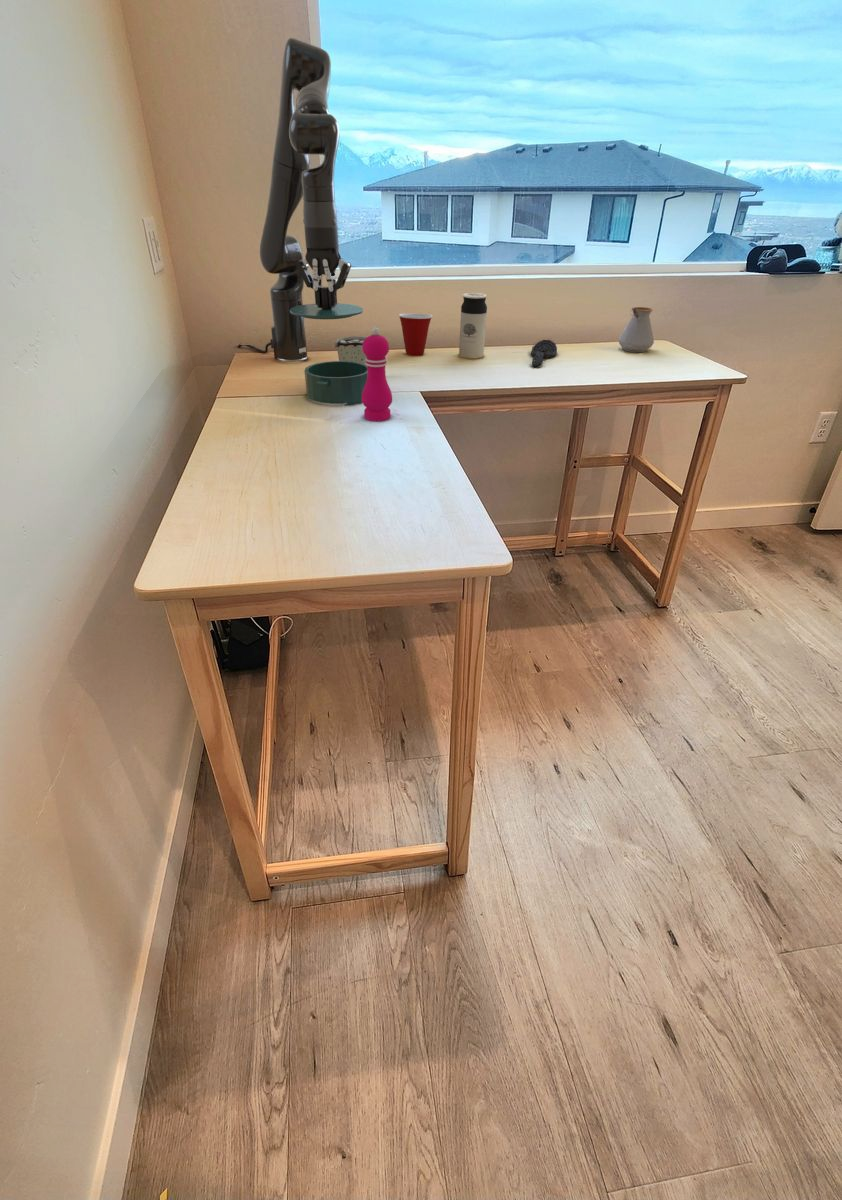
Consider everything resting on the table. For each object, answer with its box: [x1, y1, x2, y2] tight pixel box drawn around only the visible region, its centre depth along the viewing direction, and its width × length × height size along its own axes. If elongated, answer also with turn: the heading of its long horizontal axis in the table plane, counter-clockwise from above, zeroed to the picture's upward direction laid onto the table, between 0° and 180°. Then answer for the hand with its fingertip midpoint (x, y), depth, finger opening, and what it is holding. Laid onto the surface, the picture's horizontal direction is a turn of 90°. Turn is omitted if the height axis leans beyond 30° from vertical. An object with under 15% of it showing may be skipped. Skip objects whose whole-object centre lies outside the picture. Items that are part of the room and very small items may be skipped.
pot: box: [304, 360, 368, 407], centre depth 159 cm, size 17×22×7 cm
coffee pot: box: [618, 306, 655, 353], centre depth 202 cm, size 21×12×15 cm, turn 152°
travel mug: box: [458, 292, 488, 360], centre depth 194 cm, size 8×8×18 cm
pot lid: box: [290, 286, 364, 320], centre depth 149 cm, size 18×18×6 cm
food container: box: [334, 335, 368, 365], centre depth 175 cm, size 12×6×10 cm, turn 85°
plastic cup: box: [398, 313, 433, 357], centre depth 197 cm, size 11×11×12 cm
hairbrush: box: [530, 337, 558, 368], centre depth 197 cm, size 8×4×25 cm
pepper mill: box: [361, 327, 393, 422], centre depth 142 cm, size 7×7×20 cm
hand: (326, 307), depth 150 cm, fingers closed on pot lid, 2 cm apart
